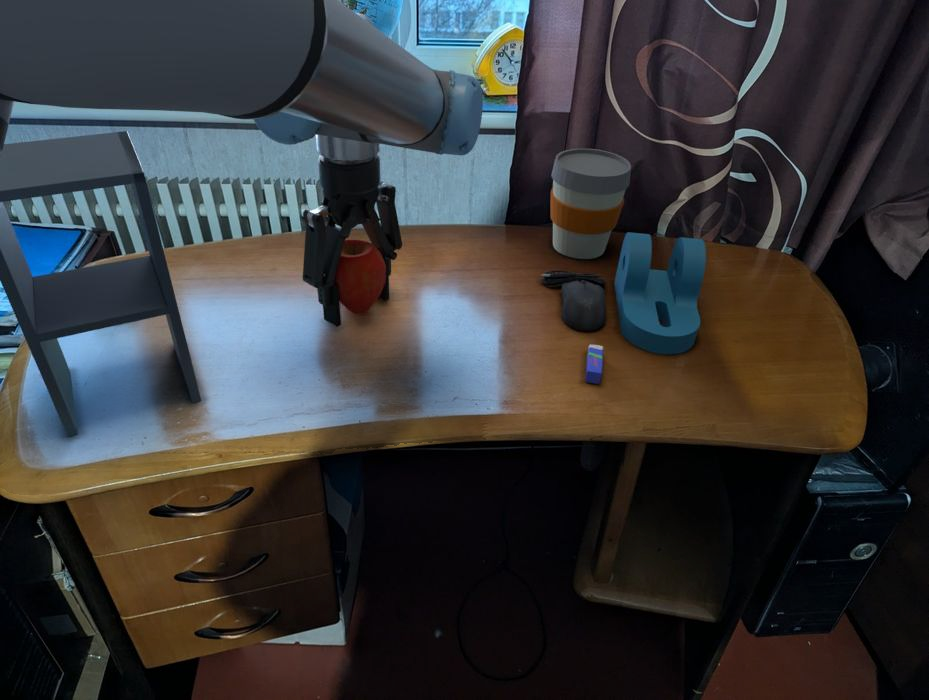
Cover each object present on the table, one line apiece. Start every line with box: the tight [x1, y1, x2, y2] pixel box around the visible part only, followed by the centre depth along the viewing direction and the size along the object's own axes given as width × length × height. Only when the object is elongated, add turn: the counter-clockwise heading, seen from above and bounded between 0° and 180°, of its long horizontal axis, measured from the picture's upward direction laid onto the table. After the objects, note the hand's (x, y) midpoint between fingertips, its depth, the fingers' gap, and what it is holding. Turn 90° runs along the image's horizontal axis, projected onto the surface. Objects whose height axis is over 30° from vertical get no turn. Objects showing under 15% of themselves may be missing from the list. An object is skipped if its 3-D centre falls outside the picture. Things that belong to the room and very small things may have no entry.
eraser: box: [584, 343, 604, 385], centre depth 85 cm, size 2×6×2 cm, turn 168°
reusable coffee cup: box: [550, 147, 632, 260], centre depth 109 cm, size 13×13×15 cm
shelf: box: [0, 130, 202, 438], centre depth 70 cm, size 12×14×28 cm
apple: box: [333, 239, 386, 315], centre depth 91 cm, size 9×8×11 cm
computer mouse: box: [541, 269, 607, 332], centre depth 97 cm, size 10×15×4 cm
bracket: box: [613, 231, 707, 355], centre depth 93 cm, size 18×10×10 cm, turn 173°
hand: (357, 309), depth 94 cm, fingers closed on apple, 8 cm apart
